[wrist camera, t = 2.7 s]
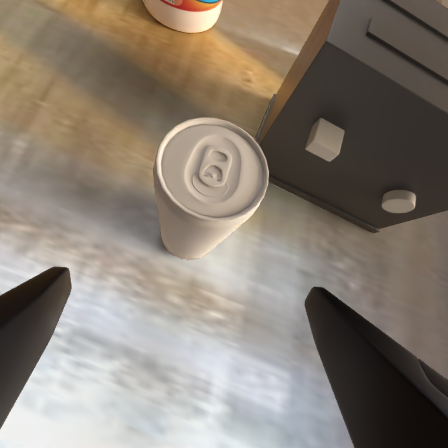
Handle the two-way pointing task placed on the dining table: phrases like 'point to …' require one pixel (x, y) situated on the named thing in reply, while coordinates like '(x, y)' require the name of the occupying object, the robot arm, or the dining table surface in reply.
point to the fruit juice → (185, 13)
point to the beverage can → (206, 184)
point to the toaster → (366, 113)
